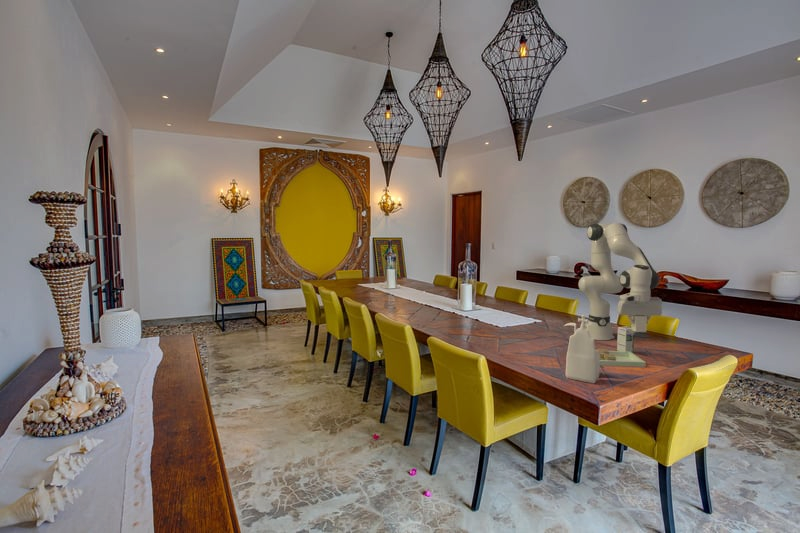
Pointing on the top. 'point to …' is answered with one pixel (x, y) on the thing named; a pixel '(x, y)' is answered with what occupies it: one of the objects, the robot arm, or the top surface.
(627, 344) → the syrup box
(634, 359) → the tray
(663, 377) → the top surface
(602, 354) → the maple block
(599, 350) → the maple block
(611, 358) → the maple block
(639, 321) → the cream hollow square tube
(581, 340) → the cream tall nozzled container
